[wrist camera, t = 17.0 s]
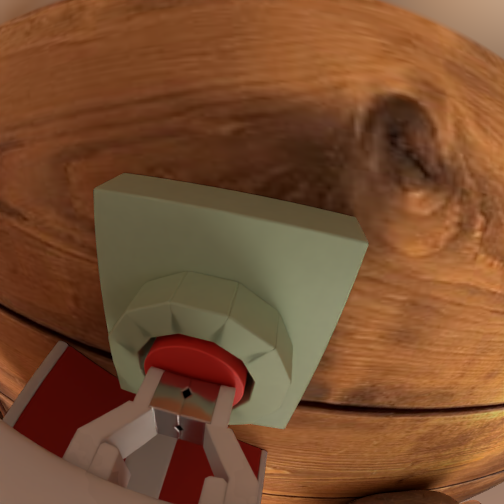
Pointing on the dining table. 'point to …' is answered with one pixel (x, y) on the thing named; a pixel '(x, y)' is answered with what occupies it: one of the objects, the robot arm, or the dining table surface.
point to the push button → (198, 361)
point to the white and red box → (99, 403)
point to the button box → (224, 281)
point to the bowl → (407, 498)
